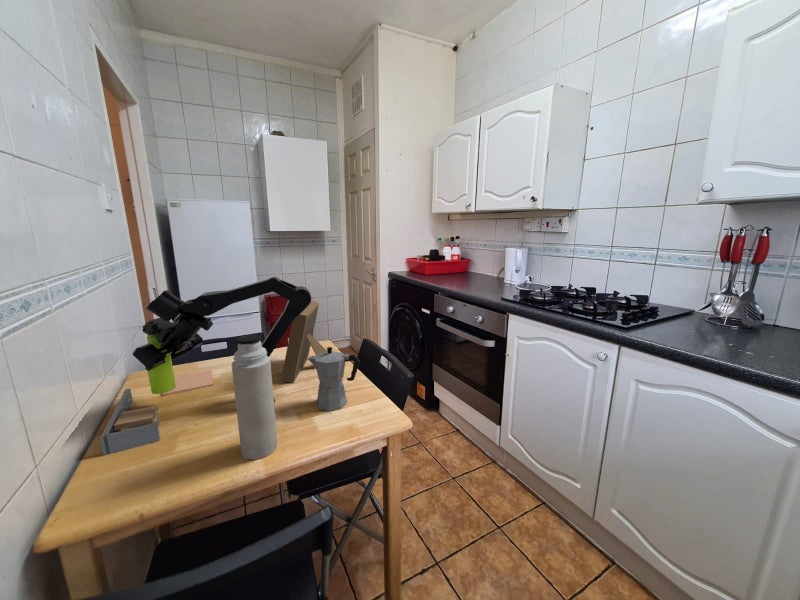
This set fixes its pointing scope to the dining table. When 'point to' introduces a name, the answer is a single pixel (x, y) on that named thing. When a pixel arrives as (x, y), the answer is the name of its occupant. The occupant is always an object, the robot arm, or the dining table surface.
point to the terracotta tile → (192, 381)
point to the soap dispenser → (161, 372)
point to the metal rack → (126, 438)
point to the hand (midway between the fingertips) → (156, 365)
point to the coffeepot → (332, 378)
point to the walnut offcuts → (137, 418)
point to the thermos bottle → (254, 398)
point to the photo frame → (301, 343)
